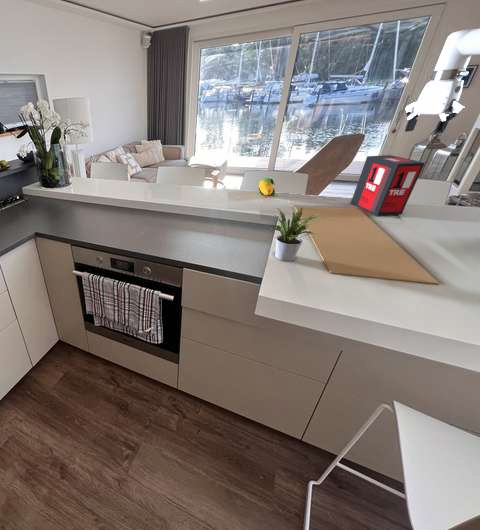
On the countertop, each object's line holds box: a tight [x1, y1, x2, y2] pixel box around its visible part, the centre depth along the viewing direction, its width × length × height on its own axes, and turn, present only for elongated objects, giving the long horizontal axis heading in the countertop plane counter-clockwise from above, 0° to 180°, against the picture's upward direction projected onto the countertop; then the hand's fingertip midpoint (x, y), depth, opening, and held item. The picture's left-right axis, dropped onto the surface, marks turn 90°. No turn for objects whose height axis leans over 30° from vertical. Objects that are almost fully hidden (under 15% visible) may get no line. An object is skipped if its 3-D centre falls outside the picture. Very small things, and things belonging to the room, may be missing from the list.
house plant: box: [270, 206, 324, 262], centre depth 85 cm, size 14×14×16 cm
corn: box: [258, 177, 276, 197], centre depth 144 cm, size 7×8×20 cm
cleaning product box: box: [350, 154, 426, 217], centre depth 115 cm, size 16×9×20 cm, turn 176°
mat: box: [294, 205, 440, 285], centre depth 101 cm, size 24×58×1 cm, turn 161°
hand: (422, 132), depth 105 cm, fingers open, 9 cm apart
